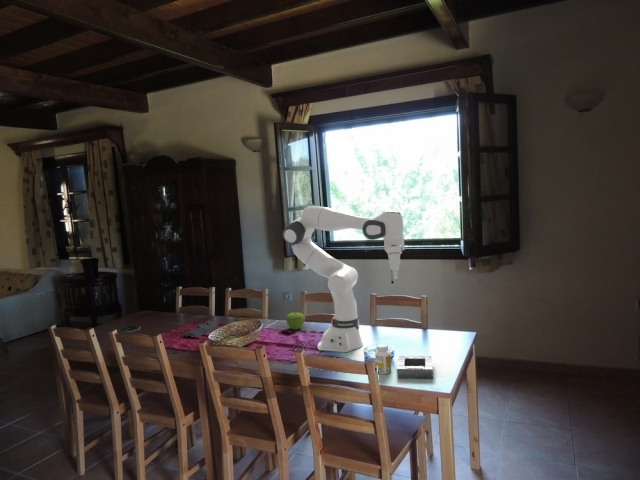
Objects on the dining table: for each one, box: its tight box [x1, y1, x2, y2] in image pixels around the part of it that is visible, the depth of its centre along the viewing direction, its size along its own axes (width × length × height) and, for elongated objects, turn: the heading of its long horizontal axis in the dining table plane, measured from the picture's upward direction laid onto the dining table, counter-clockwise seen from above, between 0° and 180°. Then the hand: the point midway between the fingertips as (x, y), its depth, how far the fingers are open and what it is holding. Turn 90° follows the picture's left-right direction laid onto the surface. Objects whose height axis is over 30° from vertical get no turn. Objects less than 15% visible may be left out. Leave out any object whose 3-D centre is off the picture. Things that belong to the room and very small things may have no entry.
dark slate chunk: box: [182, 320, 220, 337], centre depth 264 cm, size 15×22×5 cm
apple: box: [285, 311, 306, 331], centre depth 256 cm, size 11×10×10 cm
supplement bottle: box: [374, 343, 392, 375], centre depth 186 cm, size 6×6×11 cm
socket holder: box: [396, 355, 434, 380], centre depth 184 cm, size 14×14×4 cm
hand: (396, 276), depth 199 cm, fingers open, 8 cm apart
